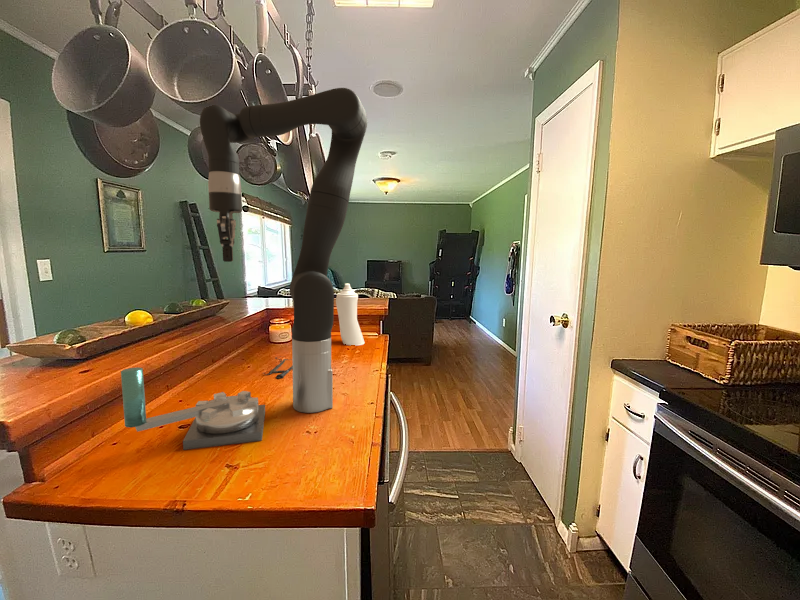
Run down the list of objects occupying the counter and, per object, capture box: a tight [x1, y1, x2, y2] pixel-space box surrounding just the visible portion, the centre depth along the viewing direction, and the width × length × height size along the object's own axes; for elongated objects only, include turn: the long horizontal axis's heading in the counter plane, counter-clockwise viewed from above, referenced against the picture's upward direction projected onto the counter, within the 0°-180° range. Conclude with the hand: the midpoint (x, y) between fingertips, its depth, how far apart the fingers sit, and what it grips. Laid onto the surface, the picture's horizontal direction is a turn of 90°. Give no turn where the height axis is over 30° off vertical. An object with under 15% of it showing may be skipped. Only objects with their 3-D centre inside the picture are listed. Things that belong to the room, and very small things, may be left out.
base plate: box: [182, 404, 266, 451], centre depth 79 cm, size 14×14×2 cm
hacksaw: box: [263, 355, 293, 379], centre depth 123 cm, size 24×10×1 cm, turn 178°
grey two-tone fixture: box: [120, 366, 259, 434], centre depth 74 cm, size 24×12×14 cm, turn 133°
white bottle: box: [335, 282, 365, 347], centre depth 155 cm, size 12×11×25 cm
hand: (228, 261), depth 96 cm, fingers closed
